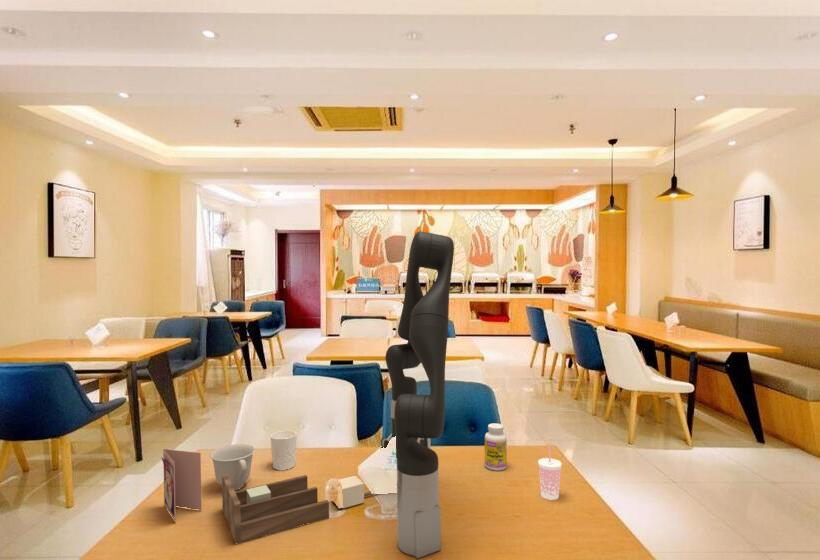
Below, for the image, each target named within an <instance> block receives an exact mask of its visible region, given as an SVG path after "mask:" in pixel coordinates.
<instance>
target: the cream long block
mask: <svg viewBox="0 0 820 560" xmlns="http://www.w3.org/2000/svg"><path fill="white" fill-rule="evenodd" d="M338 480H339V481H340V482H341V484H342V494H343V507H344V508H343V509H346V508H349V507H353V506H356V505H360V504H363V503H365V497H368V496H372V495H373V494H371V491H369V492H368V491H367V492H365V483H364V482H363V481H362V480H361V479H360V478H358V477H357V475H353V476H352V475H351V476H348V477H345V478H340V479H338Z"/></svg>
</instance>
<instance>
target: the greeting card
mask: <svg viewBox="0 0 820 560" xmlns="http://www.w3.org/2000/svg"><path fill="white" fill-rule="evenodd" d="M162 453H163V454H162V455H163V457H162V456H160V459H161V461H162V464H163V499H164V500H163V504H164V505H165V506H166V508H167V509H168V511H169V512H170V514H171V515H172V517H173V518H174V520H175V522H176V523H177V521H176V520H177V517H176V511H177V510H176V509H177V508H176V506H179V507H187V508H191V509H199V510H201V511H202V466H201V465H202V463H201V462H202V461H201V460H202V459H201V452H195V451H193V452H192V451H186V450H185V451H184V450H175V449H167V448H163V451H162ZM164 505H163V506H164ZM166 508H165V509H166ZM168 511H167V512H168ZM170 514H169V515H170ZM172 517H171V518H172ZM174 520H173V521H174ZM175 522H174V523H175Z"/></svg>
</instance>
